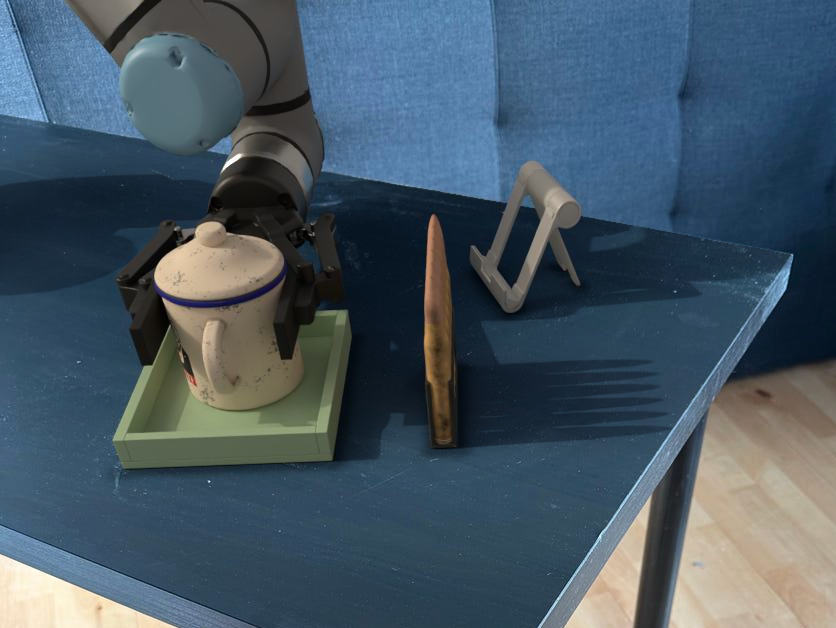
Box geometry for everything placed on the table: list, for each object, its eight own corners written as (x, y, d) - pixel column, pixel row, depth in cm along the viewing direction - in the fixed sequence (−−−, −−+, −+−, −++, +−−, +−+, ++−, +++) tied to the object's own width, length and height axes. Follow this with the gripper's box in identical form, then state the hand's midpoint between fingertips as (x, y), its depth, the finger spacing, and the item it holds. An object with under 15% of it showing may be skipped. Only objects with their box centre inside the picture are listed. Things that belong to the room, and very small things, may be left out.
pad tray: (123, 469, 65) (111, 440, 63) (173, 344, 76) (165, 316, 74) (332, 461, 64) (327, 431, 63) (352, 337, 76) (347, 309, 74)
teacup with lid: (199, 351, 74) (156, 201, 65) (313, 346, 74) (285, 194, 65) (168, 441, 66) (114, 283, 57) (296, 435, 66) (261, 276, 57)
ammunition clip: (433, 366, 72) (420, 209, 63) (457, 365, 72) (447, 207, 63) (430, 449, 65) (415, 284, 56) (457, 448, 65) (446, 283, 56)
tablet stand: (470, 270, 83) (465, 171, 77) (553, 254, 84) (555, 156, 78) (502, 315, 77) (499, 213, 71) (590, 297, 79) (595, 196, 72)
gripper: (396, 241, 80) (379, 387, 64) (147, 252, 80) (72, 400, 65) (386, 147, 74) (365, 283, 59) (118, 160, 75) (29, 298, 59)
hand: (211, 344), depth 62 cm, fingers closed on teacup with lid, 9 cm apart
